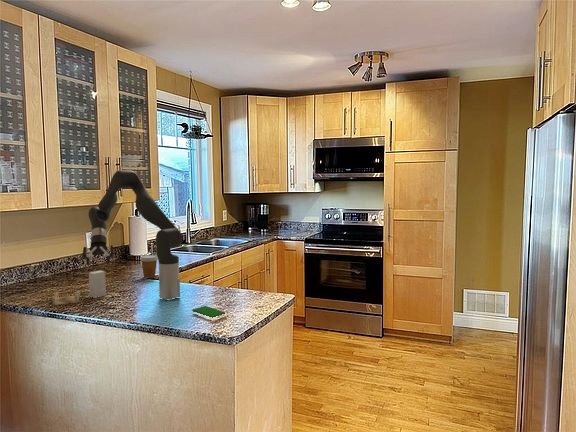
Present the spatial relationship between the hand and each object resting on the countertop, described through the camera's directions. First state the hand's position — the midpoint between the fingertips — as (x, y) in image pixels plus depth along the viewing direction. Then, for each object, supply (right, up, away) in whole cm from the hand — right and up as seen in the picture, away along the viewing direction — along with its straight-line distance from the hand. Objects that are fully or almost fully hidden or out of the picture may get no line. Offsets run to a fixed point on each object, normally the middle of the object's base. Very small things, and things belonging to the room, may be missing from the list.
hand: (98, 264), depth 205 cm
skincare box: (+3, -15, -7) cm, 17 cm away
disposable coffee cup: (+15, -11, +32) cm, 37 cm away
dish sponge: (+62, -18, -33) cm, 72 cm away
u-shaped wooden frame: (-8, -15, -13) cm, 22 cm away
